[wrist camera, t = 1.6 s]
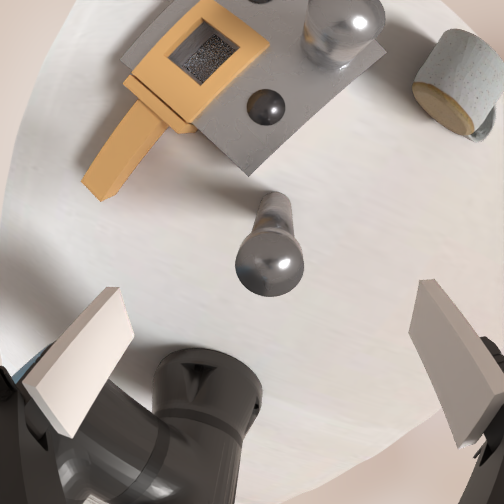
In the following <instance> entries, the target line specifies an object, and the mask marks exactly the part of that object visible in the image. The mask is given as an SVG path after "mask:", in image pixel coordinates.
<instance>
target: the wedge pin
mask: <svg viewBox="0 0 504 504" xmlns="http://www.w3.org/2000/svg"><path fill="white" fill-rule="evenodd" d="M235 268H236V273H237V276H238V278H239V280H240V282H241V283H242V284H243V285H244V286H245V287H246V288H247V289H248V290H250V291H251V292H253V293H255V294H258V295H261V296H266V297H274V296H280V295H283V294H286V293H287V292H289V291H291V290H292V289H293V288H294V287H296V285H297V284H298V283H299V281H300V280H301V278H302V275H303V271H304V261H303V254H302V249H301V247H300V244H299V243H298V241H297V240H296V239H295V238H294V229H293V219H292V209H291V203H290V200H289V199H288V197H287V196H285V195H284V194H282V193H280V192H271V193H268V194H267V195H265V196H264V197H263V198H262V200H261V202H260V206H259V209H258V212H257V216H256V219H255V222H254V226H253V229H252V232H251V233H250V234H249V235H248V236H247V237H246V238H245V239H244V240H243V242H242V244H241V246H240V248H239V251H238V254H237V257H236V261H235Z"/></svg>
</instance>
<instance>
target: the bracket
mask: <svg viewBox="0 0 504 504" xmlns="http://www.w3.org/2000/svg"><path fill="white" fill-rule="evenodd" d="M204 21H205V22H206V23H208V24H209V25H211V26H212V27H213V28H215V29H216V30H217V31H219V32H220V33H221V34H222V35H224V36H225V37H226V38H228V39H229V40H230V41H231V42H233V43H234V44H235V45H236V46H238V47H239V49H238V50H237V51H236V52H235V53H234V54H233V55H231V56H230V57H229V58H228V59H227V60H226V61H225V62H224V63H223V64H222V65H221V66H220V67H219V68H218V69H217V70H216V71H215V72H214V73H213V74H212V75H211V76H210V77H209V78H208V79H207V80H206V81H205V82H204V83H203V84H202V85H200V84H199V83H197V82H196V81H195V80H194V79H193V78H192V77H190V76H189V75H188V74H187V73H186V72H184V71H183V70H182V69H181V68H180V67H178V66H177V65H176V64H175V63H174V62H172V61H171V60H170V59H169V58H168V57H169V56H170V54H171V53H172V52H173V51H174V50H175V49H176V48H177V47H178V46H179V45H180V44H181V43H182V42H183V41H184V40H185V39H186V38H187V37H188V36H189V35H190V34H191V33H192V32H193V31H194V30H195V29H196V28H197V27H198V26H199V25H200V24H201V23H202V22H204ZM269 46H270V42H268V41H267V40H266V39H265V38H264V37H262V36H261V35H260V34H259V33H257V32H256V31H255V30H254V29H252V28H251V27H250V26H248V25H247V24H246V23H245V22H243V21H242V20H241V19H239V18H238V17H237V16H235V15H234V14H232V13H231V12H230V11H228V10H227V9H226V8H224V7H223V6H221V5H220V4H218V3H217V2H215V1H214V0H200V1H199V2H198V3H197V4H196V5H195V6H194V7H193V8H191V9H190V10H189V11H188V12H187V13H186V14H185V15H184V16H183V17H182V18H181V19H180V20H179V21H178V22H177V23H176V24H175V25H174V26H173V27H172V28H171V29H170V30H169V31H168V32H167V33H166V34H165V35H164V36H163V37H162V38H161V39H160V40H159V41H158V42H157V44H156V45H155V46H154V47H153V48H152V49H151V50H150V51H149V52H148V54H147V55H146V56H145V57H144V58H143V59H142V60H141V62H140V63H139V64H138V65H137V66H136V68H135V69H134V70H133V71H132V72H131V73H132V74H133V75H135V76H133V75H129V76H128V77H127V79H126V80H125V81H124V82H123V85H124V86H126V87H127V88H128V89H129V90H130V91H131V92H132V93H133V94H135V95H136V96H137V97H138V98H139V99H138V100H137V101H136V102H135V104H134V105H133V106H132V107H131V109H130V110H129V111H128V113H127V114H126V115H125V117H124V118H123V119H122V121H121V122H120V123H119V125H118V126H117V127H116V129H115V130H114V131H113V133H112V134H111V136H110V137H109V139H108V140H107V141H106V143H105V144H104V146H103V147H102V149H101V150H100V152H99V153H98V155H97V156H96V158H95V159H94V161H93V162H92V164H91V166H90V167H89V169H88V170H87V172H86V174H85V175H84V177H83V179H82V180H81V182H82V183H83V184H84V185H85V186H86V187H87V188H88V189H89V190H90V192H91V193H92V194H93V195H94V196H95V197H96V198H97V199H98V200H99V201H100V202H101V201H103V200H106V199H108V198H110V197H112V196H114V195H116V194H117V192H118V191H119V189H120V188H121V187H122V185H123V184H124V182H125V181H126V180H127V178H128V177H129V176H130V174H131V173H132V172H133V170H134V169H135V168H136V166H137V165H138V164H139V162H140V161H141V160H142V159H143V157H144V156H145V155H146V154H147V152H148V151H149V150H150V149H151V147H152V146H153V145H154V144H155V142H156V141H157V140H158V139H159V137H160V136H161V135H162V134H163V133H164V131H165V130H166V129H167V128H168V127H169V126H170V127H171V128H172V129H173V130H174V131H175V132H176V133H178V134H181V133H195V132H196V131H197V130H198V128H197V127H195V126H194V125H193V124H192V122H193V120H194V119H195V118H196V117H197V116H198V115H199V114H200V113H201V112H202V111H203V110H204V109H205V108H206V107H207V105H208V104H209V103H210V102H211V101H212V100H213V99H214V98H215V97H216V96H217V95H218V94H219V93H220V92H221V91H222V90H223V89H224V88H225V87H226V86H227V85H228V84H229V83H230V82H231V81H232V80H233V79H234V78H235V77H236V76H237V75H238V74H240V73H241V72H242V71H243V70H244V69H245V68H246V67H247V66H248V65H249V64H250V63H251V62H252V61H253V60H255V59H256V58H257V57H258V56H259V55H260V54H261V53H262V52H263V51H265V50H266V49H267V48H268V47H269Z"/></svg>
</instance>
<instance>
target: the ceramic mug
mask: <svg viewBox="0 0 504 504" xmlns="http://www.w3.org/2000/svg"><path fill="white" fill-rule="evenodd" d="M412 91H413V94H414V97H415V99H416V100H417V102H418V103H419V104H420V105H421V107H422V108H423V109H424V110H425V111H426V112H427V113H428V114H429V115H430V116H431V117H433V118H434V119H435V120H436V121H437V122H439V123H440V124H441V125H443V126H444V127H446V128H447V129H449V130H451V131H453V132H454V133H457V134H459V135H463V136H464V137H465V138H467V139H469V140H471V141H473V142H481V141H483V140H484V139H485V138H487V136H488V135H489V134H490V132H491V131H492V128H493V126H494V123H495V119H496V104H495V103H496V102H497V101H498V99H499V98H500V96H501V95H502V93H503V92H504V62H503V61H502V59H501V58H500V57H499V55H498V54H497V53H496V51H495V50H494V49H493V48H492V47H491V46H489V45H488V44H487V43H486V42H485V41H483V40H482V39H481V38H479V37H477V36H476V35H474V34H472V33H470V32H467V31H464V30H461V29H450V30H447V31H445V32H444V33H443V35H442V37H441V38H440V40H439V41H438V43H437V44H436V46H435V47H434V49H433V50H432V52H431V53H430V55H429V57H428V58H427V60H426V61H425V63H424V64H423V66H422V67H421V68H420V70H419V71H418V73H417V75H416V77H415V79H414V82H413V85H412ZM473 132H474V133H473ZM472 133H473V134H472ZM470 134H471V135H470Z"/></svg>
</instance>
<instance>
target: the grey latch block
mask: <svg viewBox="0 0 504 504" xmlns="http://www.w3.org/2000/svg"><path fill="white" fill-rule="evenodd" d="M199 1H200V0H174V1H173V2H172V3H171V4H170V5H169V6H168V7H167V8H166V9H165V10H164V11H163V12H162V13H161V14H160V15H159V16H158V17H157V18H156V19H155V20H154V21H153V22H152V23H151V24H150V25H149V27H148V28H147V29H146V30H145V31H144V32H143V33H142V34H141V35H140V36H139V37H138V39H137V40H136V41H135V42H134V43H133V44H132V45H131V47H130V48H129V49H128V50H127V51H126V53H125V54H124V55H123V56H122V57H121V59H120V61H121V62H123V63H124V64H125V65H126V66H127V67H129V68H130V69H131V70H132V71H133V70H134V69H135V68H136V66H137V65H138V64H139V63H140V62H141V60H142V59H143V58H144V57H145V56H146V55H147V54H148V52H149V51H150V50H151V49H152V48H153V47H154V46H155V45H156V44H157V42H158V41H159V40H160V39H161V38H162V37H163V36H164V35H165V34H166V33H167V32H168V31H169V30H170V29H171V28H172V27H173V26H174V25H175V24H176V23H177V22H178V21H179V20H180V19H181V18H182V17H183V16H184V15H185V14H186V13H187V12H188V11H189V10H190V9H191V8H193V7H194V6H195V5H196V4H197V3H198V2H199ZM214 1H215V2H217V3H218V4H220V5H221V6H223V7H224V8H226V9H227V10H228V11H230V12H231V13H232V14H234V15H235V16H237V17H238V18H239V19H241V20H242V21H243V22H245V23H246V24H247V25H248V26H250V27H251V28H252V29H254V30H255V31H256V32H257V33H259V34H260V35H261V36H262V37H264V38H265V39H266V40H267V41H268V42H270V46H269V47H268V48H267V49H266V50H265V51H263V52H262V53H261V54H260V55H259V56H258V57H257V58H256V59H255V60H253V61H252V62H251V63H250V64H249V65H248V66H247V67H246V68H245V69H244V70H243V71H242V72H241V73H240V74H238V75H237V76H236V77H235V78H234V79H233V80H232V81H231V82H230V83H229V84H228V85H227V86H226V87H225V88H224V89H223V90H222V91H221V92H220V93H219V94H218V95H217V96H216V97H215V98H214V99H213V100H212V101H211V102H210V103H209V104H208V105H207V107H206V108H205V109H204V110H203V111H202V112H201V113H200V114H199V115H198V116H197V117H196V118H195V119H194V120H193V122H192V124H193V125H194V126H195V127H197V128H198V129H199V130H200V131H201V132H202V133H203V134H204V135H205V136H206V137H207V138H208V139H210V140H211V141H212V142H213V143H214V144H215V145H216V146H217V147H218V148H219V149H220V150H221V151H222V152H223V153H224V154H225V155H226V156H227V157H229V158H230V159H231V160H232V161H233V162H234V163H235V164H236V165H237V166H238V167H239V168H240V169H241V170H242V171H243V172H244V173H245V174H246V175H247V176H248V177H249V176H250V175H251V174H252V173H253V172H254V171H255V170H256V169H257V168H258V167H259V166H260V165H261V164H262V163H263V162H264V161H265V160H266V159H267V158H268V157H269V156H270V155H271V154H273V153H274V152H275V151H276V150H277V149H278V148H279V147H280V146H281V145H282V144H283V143H284V142H285V141H286V140H287V139H288V138H289V137H291V136H292V135H293V134H294V133H295V132H296V131H297V130H298V129H299V128H300V127H301V126H302V125H304V124H305V123H306V122H307V121H308V120H309V119H310V118H311V117H312V116H313V115H315V114H316V113H317V112H318V111H319V110H320V109H321V108H322V107H324V106H325V105H326V104H327V103H328V102H329V101H330V100H331V99H333V98H334V97H335V96H336V95H337V94H338V93H339V92H341V91H342V90H343V89H344V88H345V87H346V86H347V85H349V84H350V83H351V82H352V81H353V80H355V79H356V78H357V77H358V76H359V75H360V74H362V73H363V72H364V71H365V70H366V69H368V68H369V67H370V66H371V65H372V64H374V63H375V62H376V61H377V60H378V59H380V58H381V57H382V56H383V55H385V54H386V53H387V52H386V51H385V49H384V48H383V47H382V46H381V45H380V44H379V43H378V42H377V41H376V40H375V38H376V37H377V36H378V35H379V34H380V33H381V31H382V30H383V28H384V25H385V11H384V8H383V6H382V4H381V2H380V1H379V0H214ZM214 34H215V35H217V36H218V37H219V38H220V39H222V40H223V41H224V42H226V43H227V44H228V45H229V46H231V47H232V48H233V49H234V50H236V51H237V50H238V49H239V47H238V46H236V45H235V44H234V43H233V42H231V41H230V40H229V39H228V38H226V37H225V36H224V35H222V34H221V33H220V32H219V31H217V30H216V29H215V28H213V27H212V26H211V25H209V24H208V23H206V22H205V21H204V22H202V23H201V24H200V25H199V26H198V27H197V28H196V29H195V30H194V31H193V32H192V33H191V34H190V35H189V36H188V37H187V38H186V39H185V40H184V41H183V42H182V43H181V44H180V45H179V46H178V47H177V48H176V49H175V50H174V51H173V52H172V53H171V54H170V56H169V57H168V58H169V59H170V60H171V61H172V62H174V63H175V64H176V65H177V66H178V67H180V68H181V69H182V70H183V71H184V72H186V73H187V74H188V75H189V76H190V77H192V78H193V79H194V80H195V81H196V82H197V83H199V84H200V85H202V84H203V83H202V82H201V81H200V80H199V79H197V78H196V77H195V76H194V75H193V74H192V73H190V72H189V71H188V70H187V69H186V68H184V67H183V65H184V63H185V62H186V61H187V60H188V59H189V58H190V57H191V56H192V55H193V54H194V53H195V52H196V51H197V50H198V49H199V48H200V47H201V46H202V45H203V44H204V43H205V42H206V41H207V40H208V39H210V38H211V37H212V36H213V35H214Z"/></svg>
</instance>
